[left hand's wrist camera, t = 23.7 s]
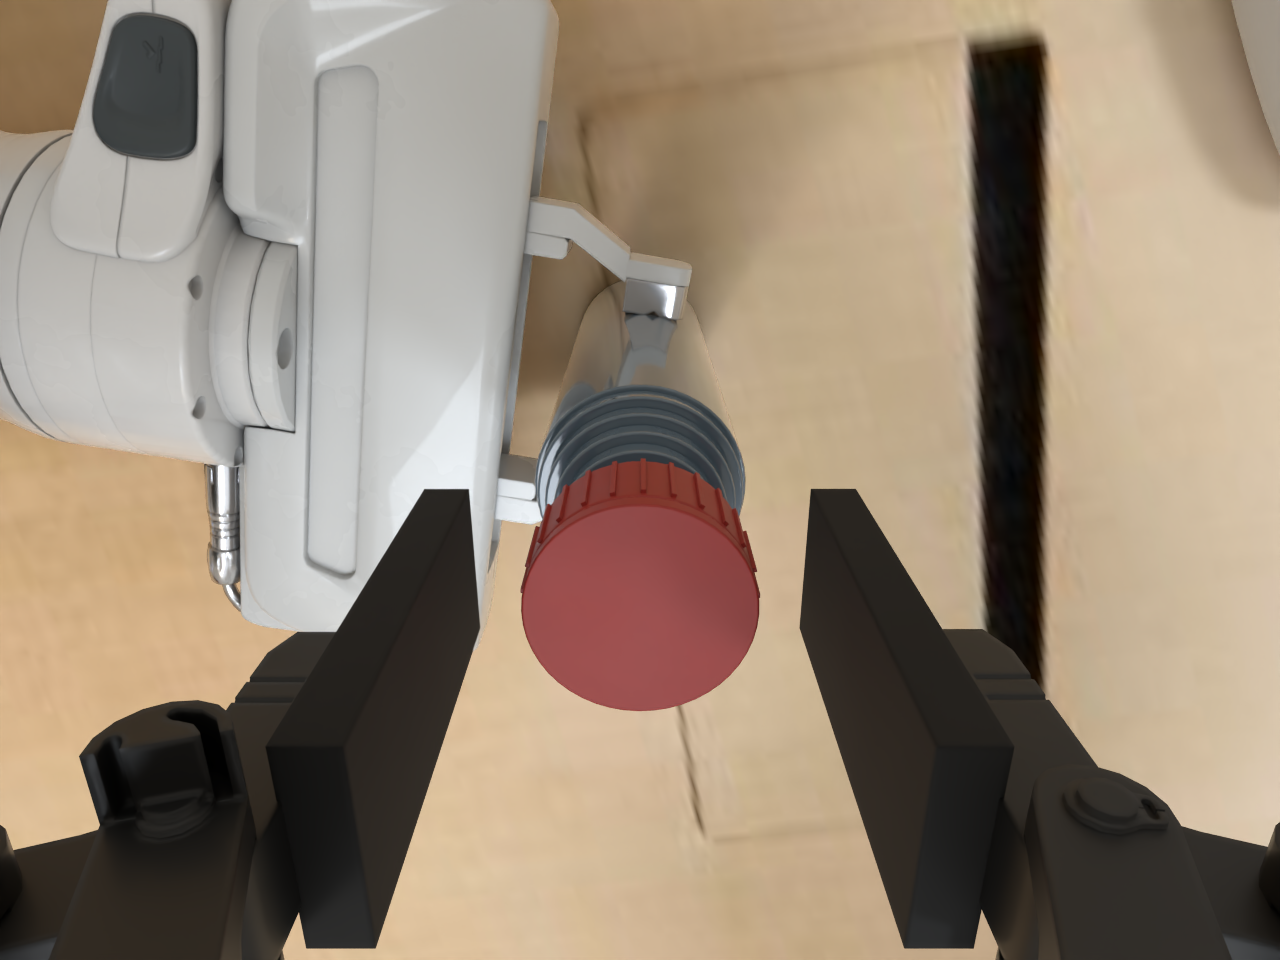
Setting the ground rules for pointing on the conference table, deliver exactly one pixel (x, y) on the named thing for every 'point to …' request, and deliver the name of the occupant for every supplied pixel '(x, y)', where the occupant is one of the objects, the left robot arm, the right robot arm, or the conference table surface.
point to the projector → (1263, 54)
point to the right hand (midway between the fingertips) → (669, 386)
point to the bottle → (639, 402)
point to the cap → (640, 587)
